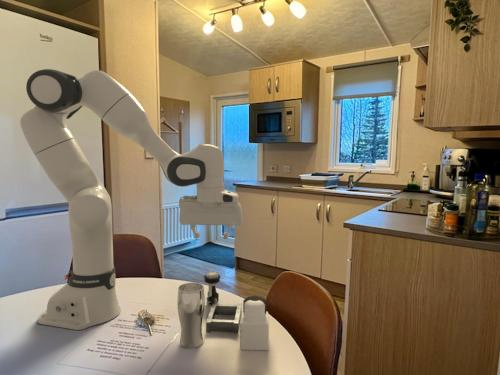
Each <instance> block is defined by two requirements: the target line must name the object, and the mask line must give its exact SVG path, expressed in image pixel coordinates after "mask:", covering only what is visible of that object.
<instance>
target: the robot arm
mask: <svg viewBox="0 0 500 375" xmlns="http://www.w3.org/2000/svg"><path fill="white" fill-rule="evenodd" d="M25 88H26V93H27V96H28V98H29V100H30V101H31V102H32V104H33V105H35V106H34V107H33V108H31V109H29V110H27V111H26V112H24V113H23V115H22V116H21V118H20V122H19V125H20V128H21V130H22V133H23V136H24V138H25V140H26V142H27V144H28V146H29V147H30V149H31V152H32V153H33V154H34V156H35V157H36V159H37V161H38V162H39V165H40V166H41V167H42V169H43V170H44V172H45V174H46V175H47V177H48V179H49V180H50V182H51V183H52V184H53V185H54V186H55V187H56V188H57V190H58V191H59V192H60V193H61V195H62V196H63V197H64V199H65V200H66V201H67V203H68V208H67V210H68V222H69V233H70V241H71V253H72V254H71V256H72V270H71V271H69V272H68V273H67V274H65V275H64V281H66V280H67V279H68V281H67V283H65V285H63V286H62V287H61V288H60V289H59V290H57V291H56V292H55V293H53V294H52V295H51V297H50V298H49V299H48V301H47V305H46V309H45V310H44V311H42V313H41V314H40V315H39V316H38V318H37V324H38V323H39V325H44V326H50V327H57V328H63V329H70V330H76V331H80V330H81V331H82V330H85V329H88V328H89V327H92V326H95V325H96V326H97V325H99V324H103V323H105V322H106V323H107V322H109V321H111V320H113V319H114V318H116V317H117V316H118V315H119V314H120V312H121V306H120V305H119V301H118V300H119V299H118V297H117V293H116V292H117V291H116V277H117V276H116V266H115V265H114V245H113V240H114V238H113V207H112V199H111V196H110V194H109V193H108V191H107V189H106V187H105V186H104V185H103V183H102V181H101V179H100V178H99V176H98V175H97V173H96V171H95V169H94V168H93V167H92V165H91V163H90V162H89V160H88V158H87V157H86V155H85V153H84V152H83V150H82V149H81V147H80V145H79V144H78V141H77V140H76V138H75V137H74V134H72V132H71V130H70V128H69V126H68V124H67V120H69V119H70V118H72V117H73V116H74V115H75V114H76V113H77V112H79V110H81V109H82V107H84V108H85V107H86V108H87V109H89V110H90V111H92V112H93V113H94V114H95V115H96V116H97V117H98V118H100V120H102V121H103V123H105V124H106V125H107V126H108V127H109V128H111V129H112V130H114V131H115V132H117V133H118V134H119V135H120V136H123V137H124V138H127V139H128V140H130V141H132V142H134V143H135V144H137V145H139V146H140V147H141V148H142V149H144V150H145V151H146V152H147V153H148V155H150V156H151V157H152V158H153V159H154V160H155V161H156V162H157V163H158V164H159V165H160V167H161V169H162V172H163V175H164V177H165V178H166V180H167V181H169V182H170V183H171V184H173V185H174V186H176V187H180V188H185V187H189V186H193V185H196V195H183V196H181V197H179V200H178V206H179V215H178V216H179V218H178V220H179V224H180V225H183V226H184V225H185V226H189V225H190V229H191V231H192V233H193V235H194V236H193V237H194V239H200V238H201V232H200V231H198V230H197V229H196V227H197V226H199V225H200V226H226V229H227V231H226V232H223V239H224V240H228V239H229V234H230V231H231V229H232V228H233V226H240V225H242V224H243V222H244V218H243V214H244V213H243V208H242V204H241V203H240V201H239V199H240V197H239V193H236V192H234V191H230V190H228V189H225V188H226V187H225V182H224V177H225V176H224V175H225V160H224V158H225V157H224V154H223V153H224V152H223V151H222V149H221V148H220V147H219V146H217V145H213V144H209V143H207V144H206V143H199V144H198V145H197V146H195V147H194V148H192V149H191V150H189V151H186V152H184V153H179V152H176V151H175V150H173V149H172V147H170V145H168V144H167V143H166V141H164V139H162V138H161V137H160V136H159V134H158V133H157V132H156V131H155V130H154V128H153V125H151V122H150V119H149V117H148V114H147V112H146V111H145V109H144V108H143V106H142V105H141V103H140V102H139V101H138V100H137V99H136V97H134V95H133V94H132V93H131V92H130V91H129V90H128V89H126V88H125V87H124V86H123V85H122V84H121V83H120V82H119V81H117V80H116V79H115V78H114V77H112V76H111V75H109V74H108V73H106V72H105V71H103V70H101V69H100V70H98V69H97V70H92V71H89V72H87V73H86V74H85V75H83V76H82V77H80V78H77V77H76V76H75V75H73V74H69V73H65V72H62V71H59V70H57V69H52V68H51V69H49V68H46V69H45V68H44V69H40V70H37V71H35V72H33V73H32V74H31V75H30V76H29V77H28V79H27V82H26V87H25Z"/></svg>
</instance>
